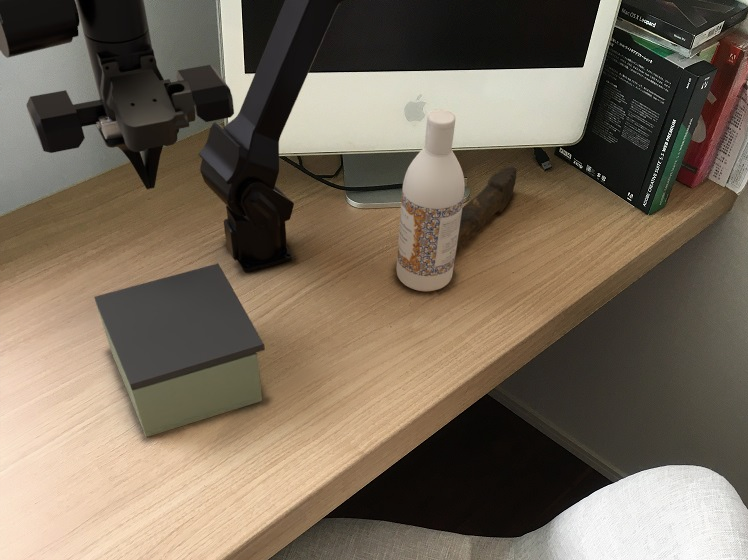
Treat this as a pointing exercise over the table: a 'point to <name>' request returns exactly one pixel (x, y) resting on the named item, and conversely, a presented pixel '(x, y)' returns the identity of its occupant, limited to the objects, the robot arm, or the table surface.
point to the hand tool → (486, 203)
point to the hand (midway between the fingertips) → (149, 186)
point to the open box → (194, 393)
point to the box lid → (177, 325)
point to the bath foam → (431, 209)
